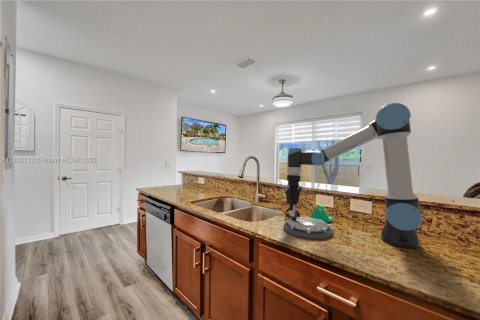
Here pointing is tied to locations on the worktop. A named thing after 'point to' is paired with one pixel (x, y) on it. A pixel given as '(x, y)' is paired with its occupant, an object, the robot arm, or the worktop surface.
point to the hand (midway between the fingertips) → (292, 215)
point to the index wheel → (307, 224)
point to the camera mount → (320, 214)
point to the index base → (308, 235)
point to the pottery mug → (289, 213)
